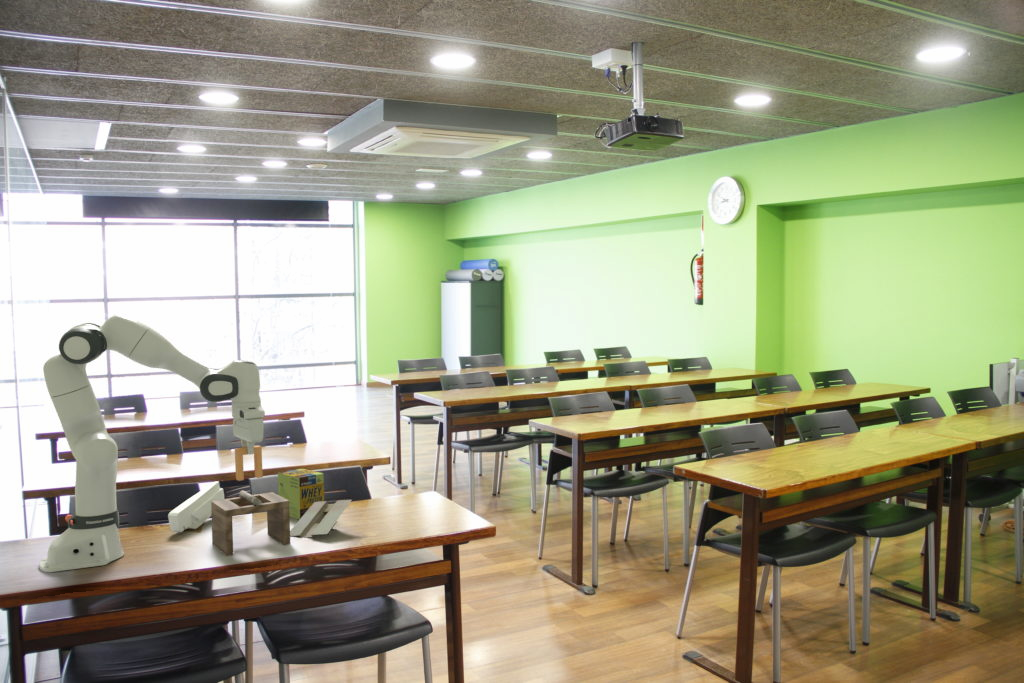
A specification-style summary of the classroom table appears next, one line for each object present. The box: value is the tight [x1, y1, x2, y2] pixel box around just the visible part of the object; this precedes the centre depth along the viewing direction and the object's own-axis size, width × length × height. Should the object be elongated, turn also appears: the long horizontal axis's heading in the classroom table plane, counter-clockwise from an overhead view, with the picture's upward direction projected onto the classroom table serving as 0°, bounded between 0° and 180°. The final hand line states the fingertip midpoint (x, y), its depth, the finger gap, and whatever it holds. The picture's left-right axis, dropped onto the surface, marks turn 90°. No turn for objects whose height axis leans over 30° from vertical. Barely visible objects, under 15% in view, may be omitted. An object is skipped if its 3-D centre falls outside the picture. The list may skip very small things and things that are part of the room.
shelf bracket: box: [167, 480, 226, 533], centre depth 274 cm, size 6×27×14 cm, turn 168°
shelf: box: [211, 490, 291, 557], centre depth 249 cm, size 20×16×16 cm
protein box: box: [277, 468, 325, 521], centre depth 287 cm, size 10×15×16 cm
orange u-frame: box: [234, 445, 264, 482], centre depth 248 cm, size 8×3×10 cm, turn 126°
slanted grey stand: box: [290, 499, 353, 538], centre depth 263 cm, size 19×10×17 cm
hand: (248, 453), depth 248 cm, fingers closed on orange u-frame, 3 cm apart
